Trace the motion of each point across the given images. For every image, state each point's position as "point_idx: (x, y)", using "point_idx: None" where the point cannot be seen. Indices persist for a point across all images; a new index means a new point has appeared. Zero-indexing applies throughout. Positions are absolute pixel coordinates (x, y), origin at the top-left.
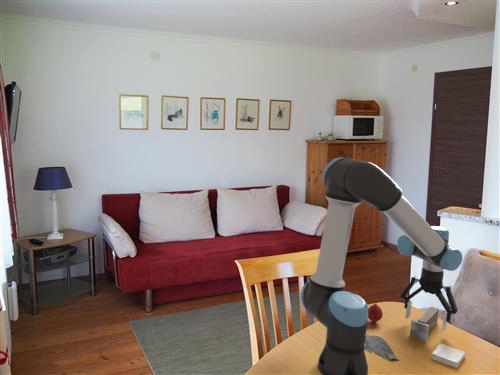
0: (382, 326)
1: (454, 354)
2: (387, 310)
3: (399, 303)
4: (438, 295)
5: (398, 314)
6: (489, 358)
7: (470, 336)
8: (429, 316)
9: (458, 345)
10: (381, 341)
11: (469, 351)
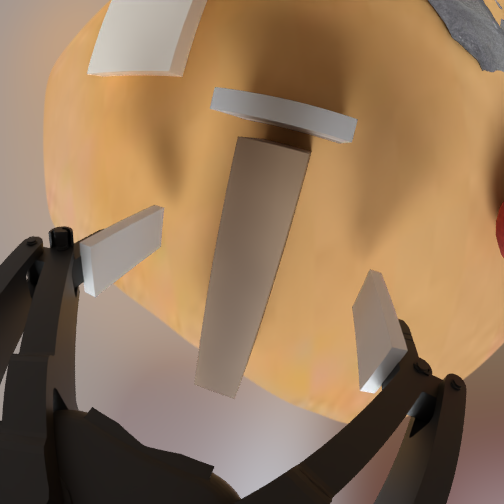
0: (474, 187)
1: (121, 22)
2: None
3: None
4: (20, 358)
5: None
6: (51, 133)
7: None
8: (223, 273)
9: (119, 162)
10: (447, 4)
11: (89, 137)
